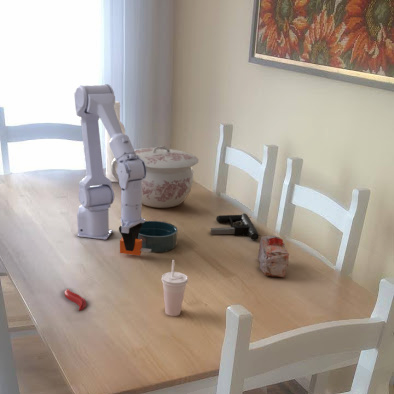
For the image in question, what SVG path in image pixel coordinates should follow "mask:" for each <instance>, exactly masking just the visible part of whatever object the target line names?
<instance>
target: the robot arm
mask: <svg viewBox="0 0 394 394" xmlns="http://www.w3.org/2000/svg"><path fill="white" fill-rule="evenodd" d="M73 95H74V96H73V97H74V106H75V112H76V113H75V114H76V116H77V117H79V119H80V128H81V135H82V136H81V137H82V146H83V153H84V162H85V164H84V165H85V171H86V175H85V176H84V177H83V178H82V179H81V180H80V181H79V183H78V201H79V204H80V205H79V207H78V209H77V214H76V220H77V221H76V222H77V235H76V236H77V237H80V238H88V239H95V240H96V239H97V240H105V241H106V240H107V239H108V238H109V237H110V236H111V234H112V233H114V232H113V229H110V222H109V221H110V220H109V219H110V218H109V215H110V213H109V209H110V208H111V206H112V204H113V203H114V201H115V191H114V189H113V185H112V182H111V181H110V180H109V179H108V178H107V177H106V175H104V165H103V164H104V163H103V156H102V155H103V154H102V145H101V136H100V126H99V119H100V121H101V122H102V124H103V127H104V128H105V130H107V132H108V134H109V136H110V138H111V140H110V143H109V145H110V148H111V150H112V152H113V155H114V157H115V159H116V162H117V164H118V169H117V174H118V178H119V182H118V184H119V187H120V189H121V190H120V211H121V212H120V225H119V227H118V231H119V233H120V236H121V238H122V237H123V240H124V245H125V249H126V250H128V251H133V249H134V245H135V239H138V235H139V232H140V229H141V227H142V225H143V223H144V222H145V221H146V218H143V217H142V204H141V203H142V180H143V179H145V177H146V165H145V162H144V161H143V159H141V158H140V157H139V156H138V155H136V153H135V151H134V150H135V148H134V146H133V144H132V142H131V140H130V138H129V136H128V135H127V134H126V133H125V134H123V133H122V130H121V127H120V124H119V121H118V118H117V115H116V112H115V110H114V106H115V101H116V96H115V91H114V88H112V85H110V84H108V83H107V84H106V83H105V84H89V85H86V84H85V85H84V84H79V85H77V87H76V89H75V91H74V93H73Z"/></svg>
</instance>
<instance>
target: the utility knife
mask: <svg viewBox="0 0 394 394" xmlns="http://www.w3.org/2000/svg"><path fill="white" fill-rule="evenodd" d="M143 252H144V253H152V252H151V249H146V248H142V239H135V245H134V249H133V251H128V250H126V249H125V245H124V240H123V237H122V236H121V238H120V239H119V254H125V255H131V256H141V254H142V253H143Z"/></svg>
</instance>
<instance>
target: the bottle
mask: <svg viewBox="0 0 394 394" xmlns="http://www.w3.org/2000/svg"><path fill="white" fill-rule="evenodd" d="M114 110H115V112H116V115H117V118H118V121H119V124H120V127H121V130H122V133H123V134H125V135H126V128H125V126H124V124H123V123H122V122H121V102H120V101H117V100H115V106H114ZM104 131H105V132H104V133H105V135H104V136H105V177H107V178H108V179H109V180H110V181H111V183H119V182H118V181H117V180H116V178H115V177H114V176H113V174H112V171H111V167H112V162H113V160H114V159H115V157H114V155H113V152H112V150H111V148H110V145H109V143H110V140H111V138H110V136H109V134H108V132H107V130H106V129H105V130H104ZM117 169H118V164H117V163H116V173H117ZM117 175H118V174H117Z"/></svg>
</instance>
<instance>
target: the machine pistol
mask: <svg viewBox="0 0 394 394" xmlns="http://www.w3.org/2000/svg"><path fill="white" fill-rule="evenodd" d="M251 218H252V217H251V216H250V217H249V215H248V214H247V213H245V212H244V213H241V214H223V215H221V214H220V215H217V216H216V218H215V220H216V222H217V223H219V224H229V226H230V227H211V228H210V235H213V236H214V235H215V236H216V235H234V236H235V237H240V236H242V237H243V236H249V238H250V239H251V240H252V241H257V240H258V239H259V237H260V234H259V232H258V230H257V229H256V227H255V225H254V224H253V222H252V220H251Z"/></svg>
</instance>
